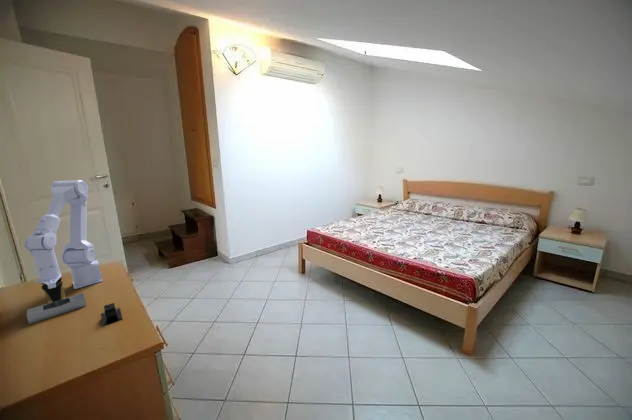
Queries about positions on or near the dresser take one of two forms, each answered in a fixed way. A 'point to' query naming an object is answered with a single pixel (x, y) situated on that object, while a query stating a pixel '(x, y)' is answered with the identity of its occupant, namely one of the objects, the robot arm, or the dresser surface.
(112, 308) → the black mounted block
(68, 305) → the rail
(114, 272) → the dresser surface
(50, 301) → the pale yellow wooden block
